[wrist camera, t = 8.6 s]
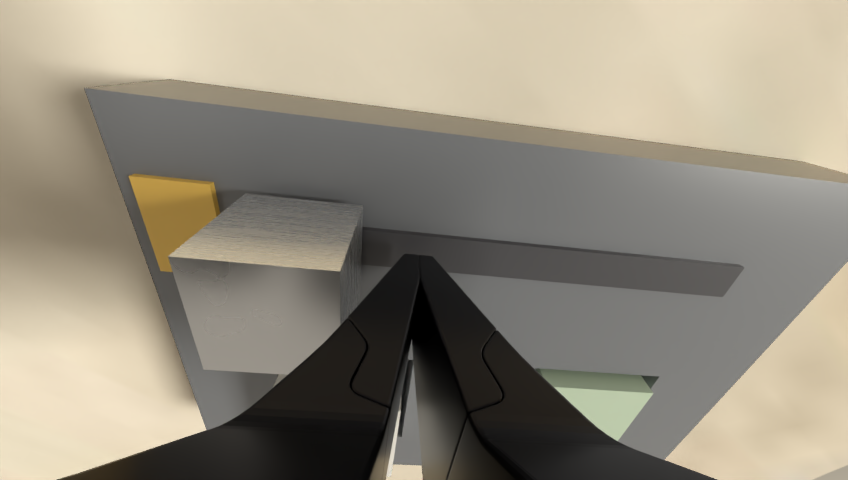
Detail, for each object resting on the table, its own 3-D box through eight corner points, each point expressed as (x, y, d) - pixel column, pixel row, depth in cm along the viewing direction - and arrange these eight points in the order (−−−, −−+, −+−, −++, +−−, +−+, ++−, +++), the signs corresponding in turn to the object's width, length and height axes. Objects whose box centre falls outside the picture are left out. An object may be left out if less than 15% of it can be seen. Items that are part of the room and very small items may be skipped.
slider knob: (360, 293, 10) (340, 378, 7) (260, 285, 10) (203, 369, 7) (362, 205, 9) (339, 271, 6) (245, 193, 8) (167, 256, 6)
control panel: (619, 419, 20) (652, 479, 17) (245, 398, 18) (214, 461, 15) (802, 161, 12) (922, 194, 9) (169, 79, 10) (76, 88, 7)
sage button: (584, 402, 17) (608, 453, 15) (503, 397, 17) (516, 448, 15) (619, 344, 15) (653, 393, 13) (527, 337, 15) (547, 386, 12)
